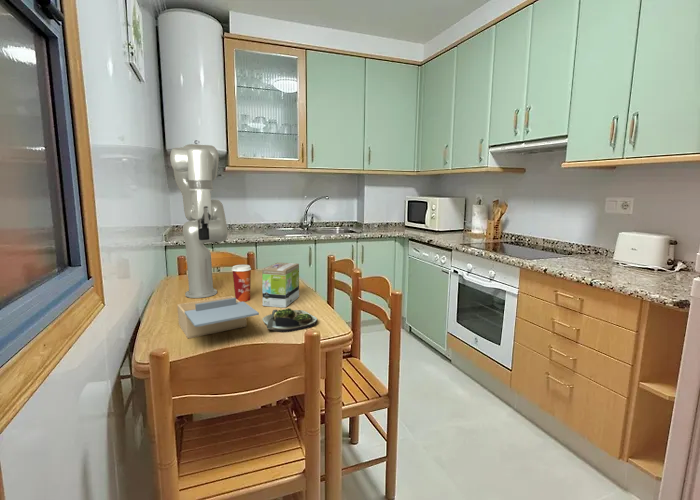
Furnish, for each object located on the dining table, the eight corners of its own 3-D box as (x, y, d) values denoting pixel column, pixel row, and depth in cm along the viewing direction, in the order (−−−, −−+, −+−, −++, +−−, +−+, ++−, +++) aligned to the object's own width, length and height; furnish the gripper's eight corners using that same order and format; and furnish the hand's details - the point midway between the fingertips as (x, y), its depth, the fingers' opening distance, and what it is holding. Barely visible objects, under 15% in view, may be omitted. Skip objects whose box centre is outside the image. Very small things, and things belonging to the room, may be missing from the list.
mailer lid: (184, 313, 112) (184, 304, 112) (243, 303, 122) (243, 295, 122) (195, 327, 101) (194, 317, 100) (258, 314, 111) (258, 306, 110)
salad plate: (252, 318, 130) (251, 305, 129) (299, 310, 139) (299, 298, 138) (271, 337, 113) (270, 322, 113) (323, 326, 123) (323, 313, 122)
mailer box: (178, 324, 123) (177, 304, 122) (233, 314, 133) (232, 295, 132) (187, 338, 111) (186, 316, 110) (246, 326, 121) (245, 305, 120)
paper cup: (242, 303, 146) (240, 268, 143) (229, 300, 150) (227, 266, 147) (257, 299, 152) (255, 265, 150) (243, 296, 156) (242, 263, 154)
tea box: (286, 308, 140) (285, 270, 138) (262, 306, 142) (260, 268, 140) (299, 297, 155) (299, 262, 153) (277, 295, 157) (276, 261, 155)
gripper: (184, 186, 130) (188, 238, 133) (194, 186, 118) (197, 243, 121) (206, 186, 135) (209, 236, 138) (218, 186, 123) (221, 241, 126)
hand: (204, 239), depth 130 cm, fingers closed
